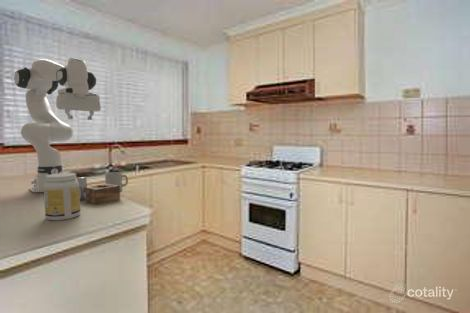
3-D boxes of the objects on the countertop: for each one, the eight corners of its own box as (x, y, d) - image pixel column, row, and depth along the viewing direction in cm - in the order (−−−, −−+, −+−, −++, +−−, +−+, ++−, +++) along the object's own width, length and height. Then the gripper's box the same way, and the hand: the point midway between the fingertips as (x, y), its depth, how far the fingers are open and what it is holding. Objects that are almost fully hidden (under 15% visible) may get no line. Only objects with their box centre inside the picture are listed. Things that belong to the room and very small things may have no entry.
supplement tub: (73, 210, 124) (71, 171, 122) (86, 216, 116) (84, 174, 115) (40, 217, 114) (38, 175, 113) (51, 223, 107) (49, 178, 105)
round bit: (76, 199, 144) (75, 178, 143) (85, 198, 147) (84, 177, 146) (80, 200, 142) (79, 178, 141) (88, 199, 145) (87, 177, 144)
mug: (108, 194, 156) (107, 174, 156) (104, 191, 163) (103, 172, 162) (130, 191, 164) (129, 172, 163) (125, 189, 171) (125, 170, 170)
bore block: (85, 201, 141) (85, 187, 140) (109, 196, 150) (108, 183, 150) (96, 204, 135) (95, 189, 134) (120, 199, 144) (119, 185, 144)
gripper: (96, 94, 154) (97, 120, 155) (53, 90, 138) (55, 119, 139) (102, 93, 150) (103, 119, 151) (59, 88, 134) (61, 118, 135)
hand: (80, 119), depth 145 cm, fingers open, 8 cm apart
